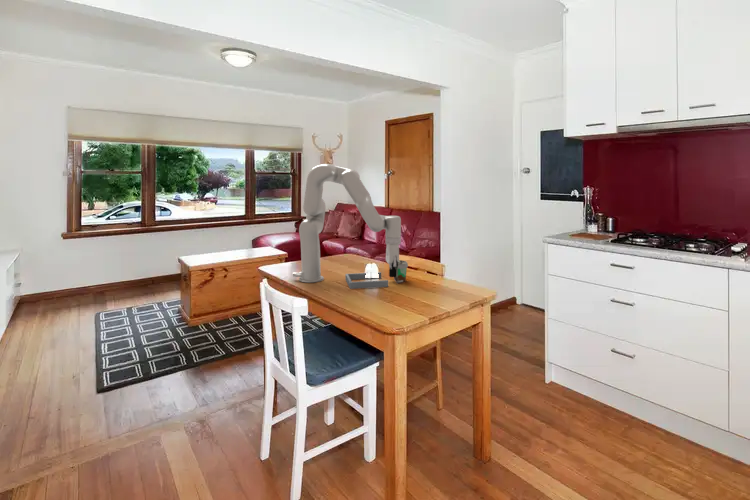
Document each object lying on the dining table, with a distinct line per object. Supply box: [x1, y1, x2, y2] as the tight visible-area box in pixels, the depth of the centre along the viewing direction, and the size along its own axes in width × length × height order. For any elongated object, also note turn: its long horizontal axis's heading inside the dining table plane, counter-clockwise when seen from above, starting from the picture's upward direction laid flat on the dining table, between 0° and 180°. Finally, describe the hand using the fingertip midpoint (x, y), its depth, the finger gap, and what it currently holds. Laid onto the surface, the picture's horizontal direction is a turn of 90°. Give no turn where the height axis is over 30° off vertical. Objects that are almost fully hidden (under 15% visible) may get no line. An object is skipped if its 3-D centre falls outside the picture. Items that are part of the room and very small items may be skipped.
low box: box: [344, 271, 389, 290], centre depth 209 cm, size 19×18×3 cm
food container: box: [393, 259, 409, 285], centre depth 211 cm, size 12×6×10 cm, turn 8°
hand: (392, 276), depth 211 cm, fingers closed
